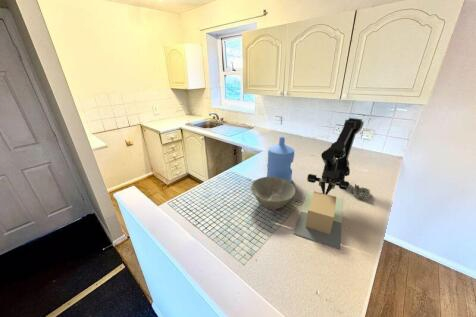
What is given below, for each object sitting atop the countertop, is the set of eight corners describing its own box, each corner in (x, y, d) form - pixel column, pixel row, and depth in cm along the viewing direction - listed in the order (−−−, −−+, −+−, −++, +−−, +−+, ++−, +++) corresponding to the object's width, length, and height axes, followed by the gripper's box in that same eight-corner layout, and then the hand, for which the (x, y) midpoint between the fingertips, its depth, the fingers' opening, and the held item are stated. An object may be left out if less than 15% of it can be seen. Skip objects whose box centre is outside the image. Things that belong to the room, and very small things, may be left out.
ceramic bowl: (286, 190, 113) (288, 175, 109) (299, 217, 92) (302, 200, 88) (248, 192, 112) (248, 176, 108) (253, 219, 91) (253, 201, 87)
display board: (307, 191, 112) (308, 191, 111) (342, 199, 104) (343, 199, 104) (293, 233, 83) (293, 233, 82) (340, 249, 75) (340, 249, 75)
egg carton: (353, 189, 114) (354, 183, 112) (368, 192, 110) (370, 186, 108) (352, 198, 105) (353, 192, 104) (368, 202, 102) (370, 196, 100)
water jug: (272, 187, 116) (275, 143, 105) (262, 175, 130) (264, 135, 118) (296, 183, 120) (301, 140, 108) (284, 172, 133) (287, 133, 122)
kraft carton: (311, 206, 99) (313, 191, 95) (332, 212, 94) (336, 196, 91) (305, 226, 86) (308, 210, 82) (330, 234, 81) (333, 217, 78)
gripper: (310, 159, 96) (303, 189, 91) (353, 166, 88) (348, 199, 83) (310, 167, 105) (304, 194, 101) (349, 174, 97) (344, 204, 93)
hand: (324, 198), depth 94 cm, fingers closed, pressing on kraft carton
